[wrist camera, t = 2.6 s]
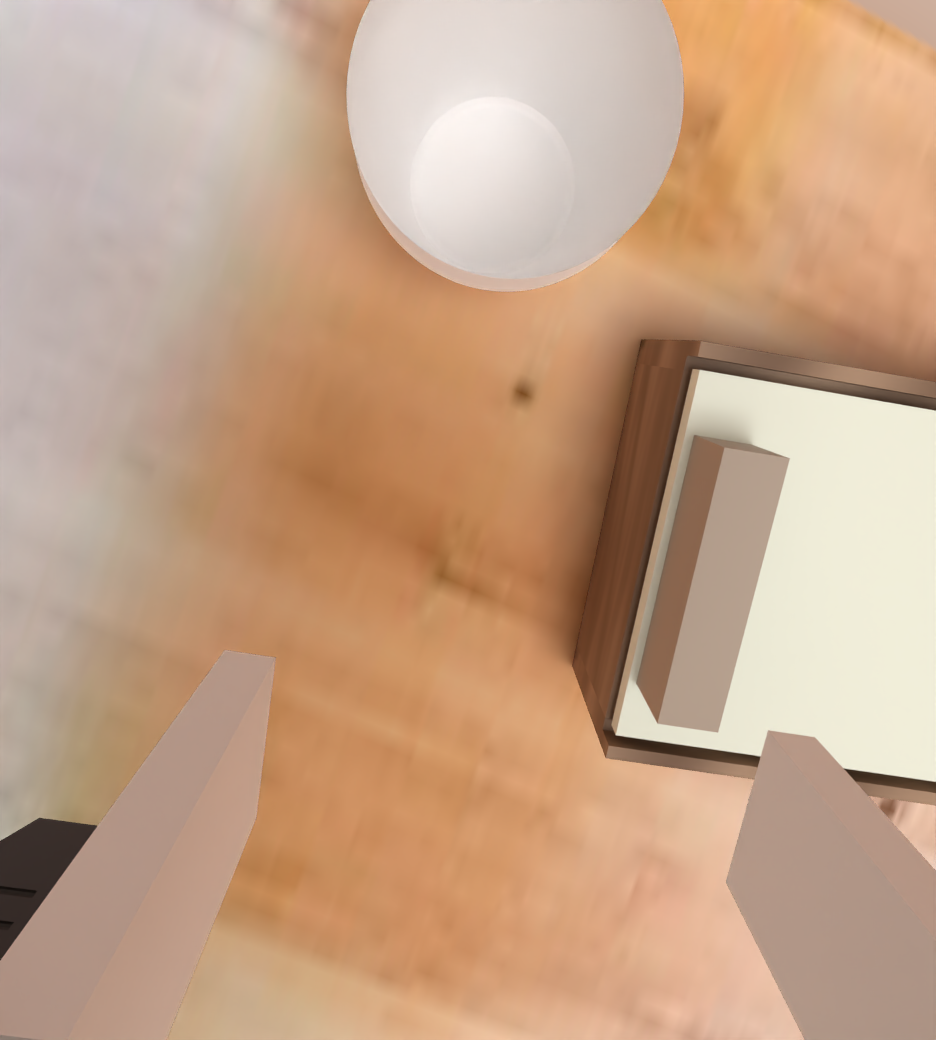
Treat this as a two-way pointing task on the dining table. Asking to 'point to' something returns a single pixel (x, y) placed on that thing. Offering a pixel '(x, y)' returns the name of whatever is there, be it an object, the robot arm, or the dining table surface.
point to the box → (636, 520)
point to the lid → (791, 579)
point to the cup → (513, 130)
